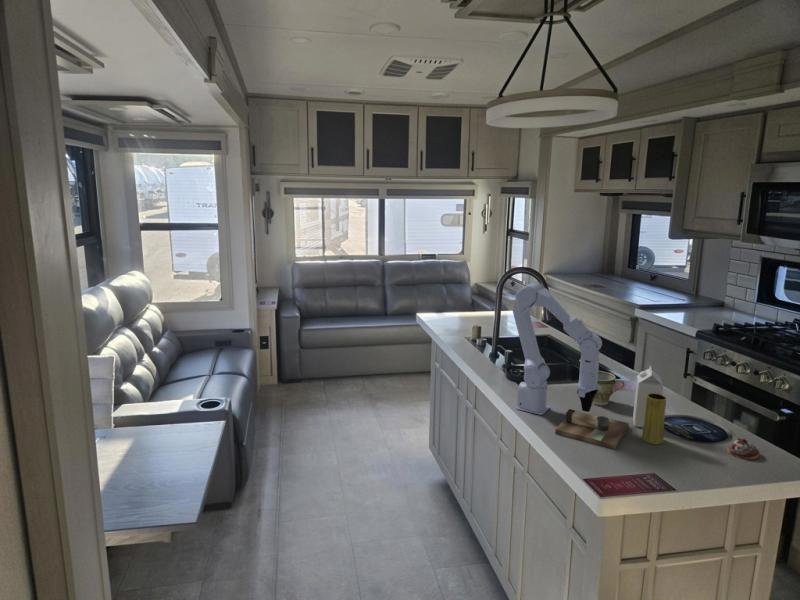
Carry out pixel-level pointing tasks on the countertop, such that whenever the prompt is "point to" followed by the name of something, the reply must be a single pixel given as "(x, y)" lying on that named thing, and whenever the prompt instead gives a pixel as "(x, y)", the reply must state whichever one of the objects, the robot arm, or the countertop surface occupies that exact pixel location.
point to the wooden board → (594, 433)
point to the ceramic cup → (605, 388)
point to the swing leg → (587, 420)
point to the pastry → (743, 450)
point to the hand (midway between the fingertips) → (586, 410)
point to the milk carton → (645, 393)
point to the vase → (654, 419)
